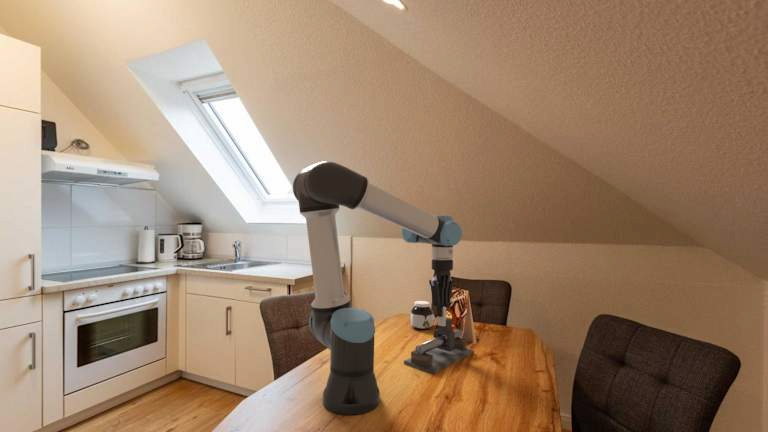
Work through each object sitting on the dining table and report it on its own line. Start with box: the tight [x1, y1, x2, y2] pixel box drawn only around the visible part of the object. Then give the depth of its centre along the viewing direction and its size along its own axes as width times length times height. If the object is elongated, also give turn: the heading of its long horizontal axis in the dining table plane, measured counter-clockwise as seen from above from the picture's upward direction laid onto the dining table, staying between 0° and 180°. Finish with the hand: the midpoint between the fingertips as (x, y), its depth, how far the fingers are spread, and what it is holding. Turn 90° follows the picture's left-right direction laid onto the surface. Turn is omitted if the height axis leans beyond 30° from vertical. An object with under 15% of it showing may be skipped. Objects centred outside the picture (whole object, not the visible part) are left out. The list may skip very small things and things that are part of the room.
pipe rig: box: [403, 337, 475, 375], centre depth 130 cm, size 26×12×4 cm, turn 138°
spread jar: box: [410, 300, 436, 331], centre depth 167 cm, size 12×11×12 cm
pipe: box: [415, 329, 463, 355], centre depth 130 cm, size 25×3×3 cm, turn 138°
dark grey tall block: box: [434, 316, 455, 352], centre depth 132 cm, size 3×6×11 cm, turn 48°
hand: (441, 325), depth 130 cm, fingers closed
